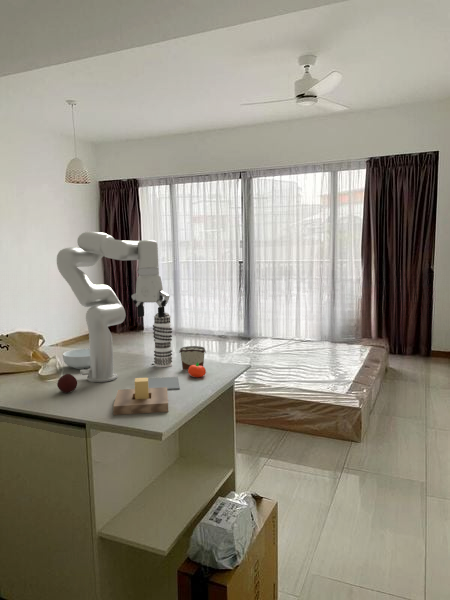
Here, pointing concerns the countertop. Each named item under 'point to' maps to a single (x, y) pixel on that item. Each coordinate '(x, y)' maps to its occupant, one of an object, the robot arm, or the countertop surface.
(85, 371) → the robot arm
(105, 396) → the countertop surface
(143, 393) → the ochre block
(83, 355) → the cereal bowl
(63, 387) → the dark maroon ball
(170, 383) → the grey mat
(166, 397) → the walnut cradle
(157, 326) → the decorative candle
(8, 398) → the countertop surface
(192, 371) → the pumpkin
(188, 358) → the food container
